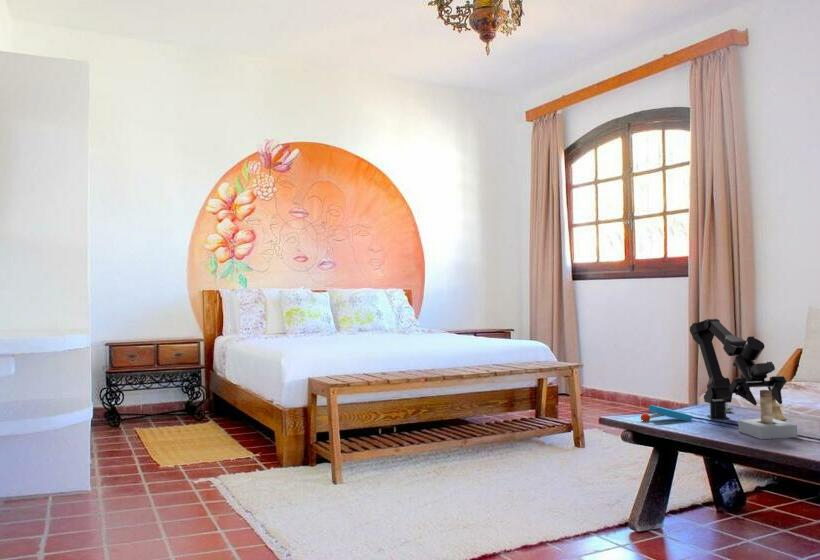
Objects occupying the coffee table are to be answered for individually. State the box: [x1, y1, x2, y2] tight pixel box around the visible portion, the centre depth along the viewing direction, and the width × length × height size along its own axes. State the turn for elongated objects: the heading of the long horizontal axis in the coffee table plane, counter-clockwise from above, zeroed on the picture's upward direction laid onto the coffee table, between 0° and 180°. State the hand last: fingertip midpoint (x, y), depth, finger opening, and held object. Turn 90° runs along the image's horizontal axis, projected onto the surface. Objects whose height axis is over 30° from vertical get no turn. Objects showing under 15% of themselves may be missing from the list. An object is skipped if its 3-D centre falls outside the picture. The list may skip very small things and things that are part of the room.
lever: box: [640, 404, 693, 422], centre depth 267 cm, size 7×7×18 cm
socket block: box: [737, 418, 798, 440], centre depth 238 cm, size 13×13×4 cm
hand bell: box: [768, 376, 787, 421], centre depth 265 cm, size 8×8×16 cm
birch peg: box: [759, 389, 773, 424], centre depth 238 cm, size 4×4×15 cm
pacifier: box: [726, 402, 734, 413], centre depth 283 cm, size 7×6×6 cm
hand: (768, 404), depth 237 cm, fingers open, 9 cm apart
